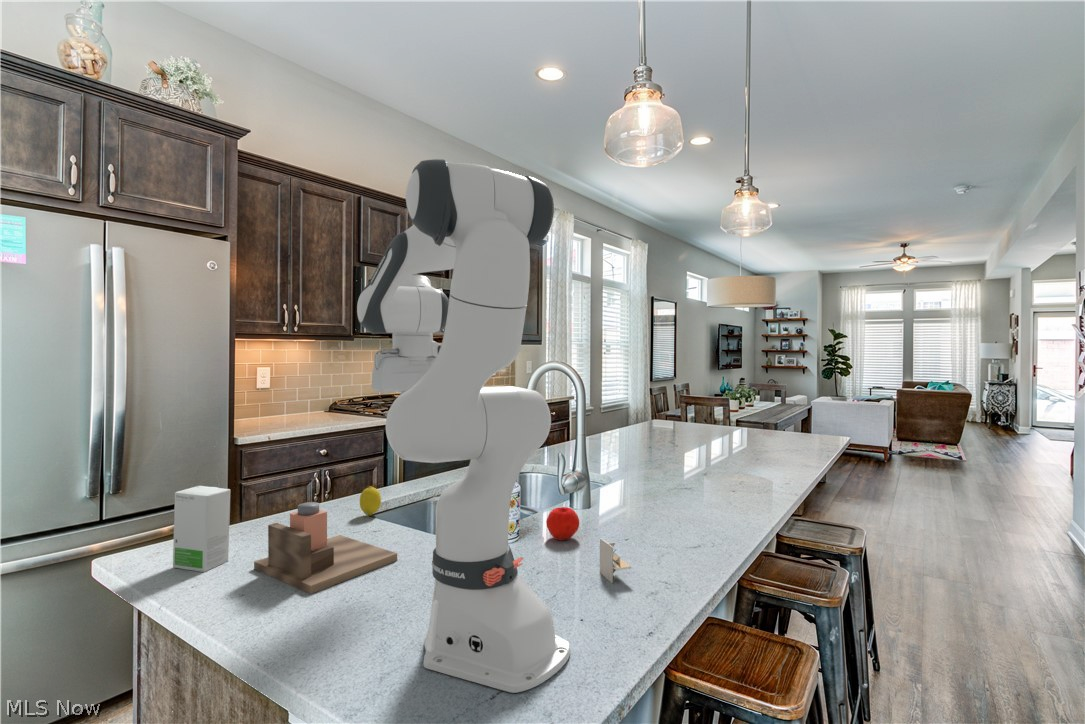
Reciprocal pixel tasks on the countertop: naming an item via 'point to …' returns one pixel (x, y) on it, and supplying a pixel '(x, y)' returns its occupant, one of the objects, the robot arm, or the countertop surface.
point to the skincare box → (201, 528)
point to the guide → (317, 559)
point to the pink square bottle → (311, 523)
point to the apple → (562, 523)
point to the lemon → (370, 500)
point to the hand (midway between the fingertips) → (412, 410)
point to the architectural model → (610, 560)
